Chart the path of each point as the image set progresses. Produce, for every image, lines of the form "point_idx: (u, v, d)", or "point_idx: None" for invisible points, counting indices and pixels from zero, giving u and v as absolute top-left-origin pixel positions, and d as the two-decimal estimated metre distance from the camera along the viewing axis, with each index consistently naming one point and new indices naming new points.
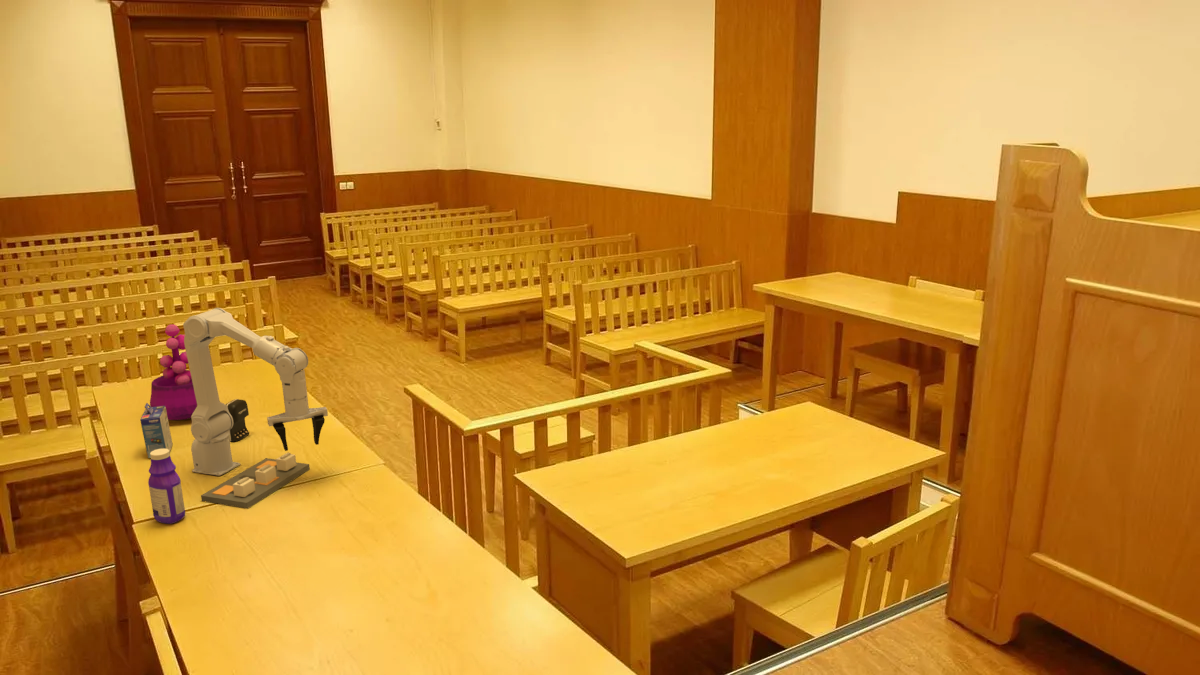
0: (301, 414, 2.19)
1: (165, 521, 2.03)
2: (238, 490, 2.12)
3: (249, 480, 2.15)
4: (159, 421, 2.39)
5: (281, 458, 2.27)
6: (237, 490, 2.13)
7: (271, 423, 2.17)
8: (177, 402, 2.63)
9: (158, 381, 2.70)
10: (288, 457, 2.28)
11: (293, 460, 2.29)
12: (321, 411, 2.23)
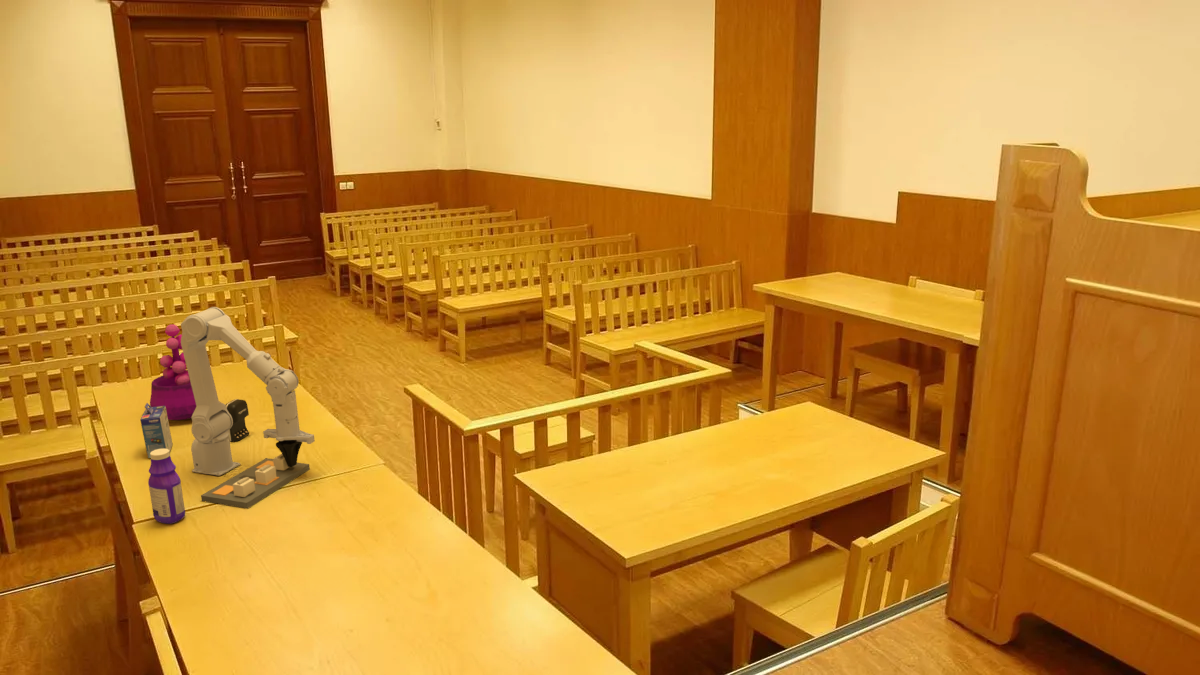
0: (283, 435, 2.23)
1: (165, 521, 2.03)
2: (238, 490, 2.12)
3: (249, 480, 2.15)
4: (159, 421, 2.39)
5: (278, 458, 2.27)
6: (237, 490, 2.13)
7: (265, 435, 2.28)
8: (177, 402, 2.63)
9: (158, 381, 2.70)
10: None
11: None
12: (304, 438, 2.23)
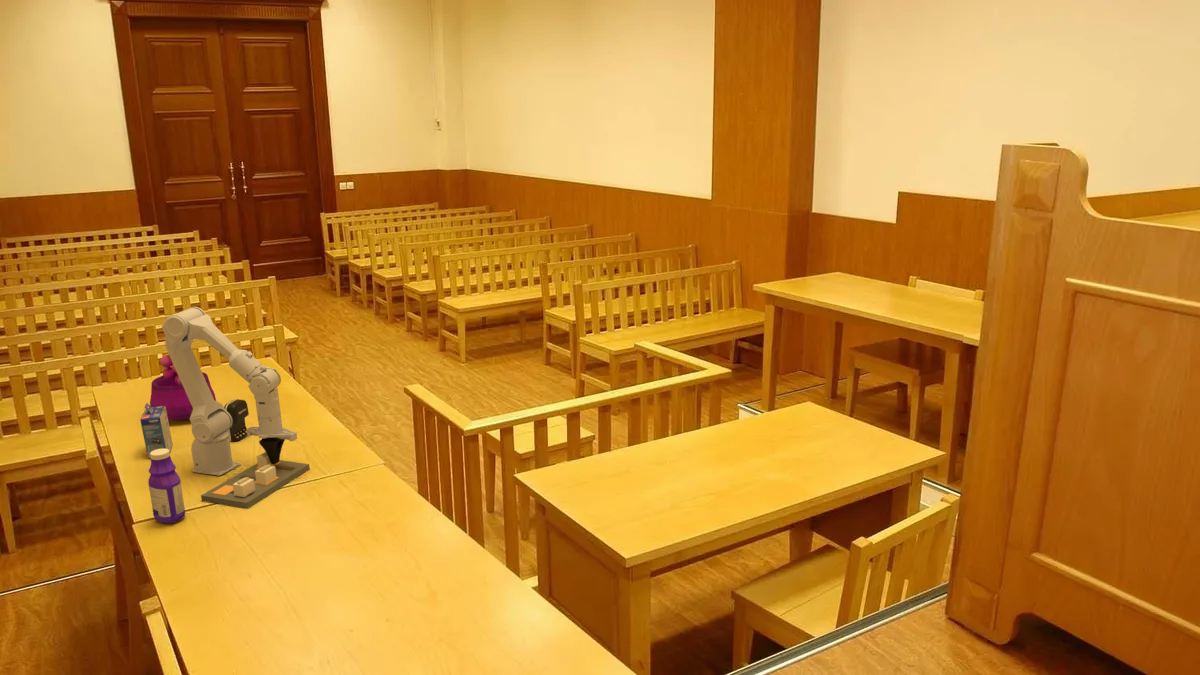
0: (265, 433, 2.25)
1: (165, 521, 2.03)
2: (238, 490, 2.12)
3: (249, 480, 2.15)
4: (159, 421, 2.39)
5: (262, 455, 2.29)
6: (237, 490, 2.13)
7: (248, 433, 2.29)
8: (177, 402, 2.63)
9: (158, 381, 2.70)
10: None
11: None
12: (286, 435, 2.25)
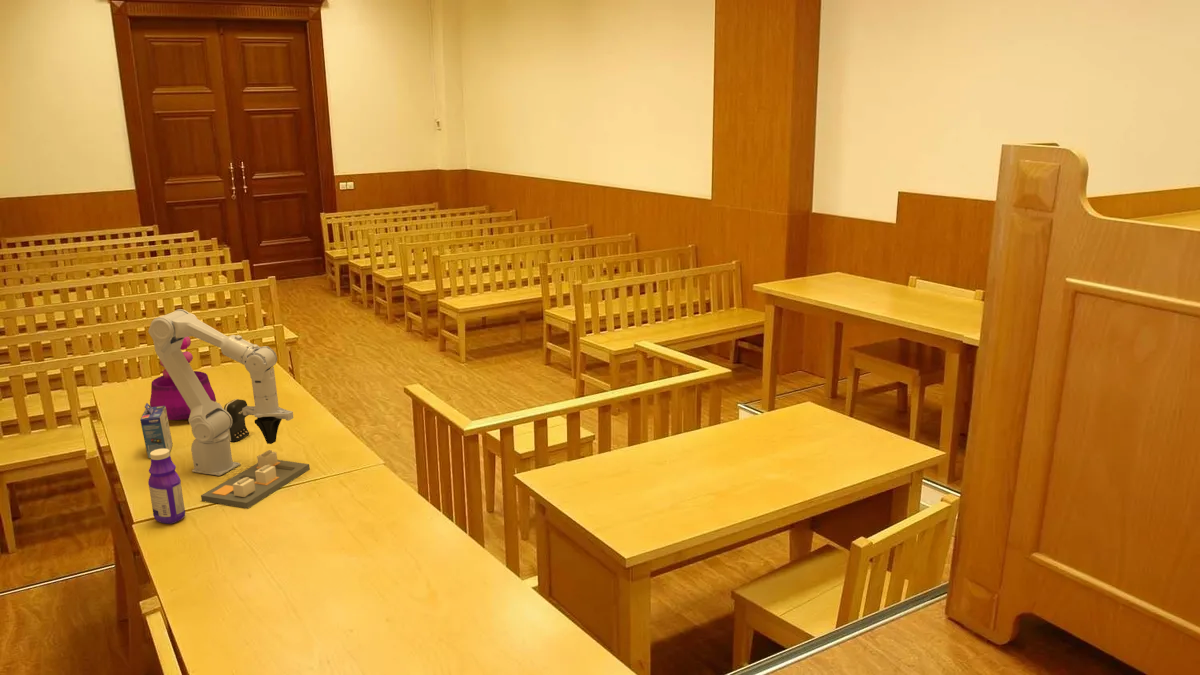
0: (261, 412, 2.23)
1: (165, 521, 2.03)
2: (238, 490, 2.12)
3: (249, 480, 2.15)
4: (159, 421, 2.39)
5: (262, 455, 2.29)
6: (237, 490, 2.13)
7: (244, 412, 2.28)
8: (177, 402, 2.63)
9: (158, 381, 2.70)
10: (269, 454, 2.30)
11: (274, 457, 2.31)
12: (282, 414, 2.23)
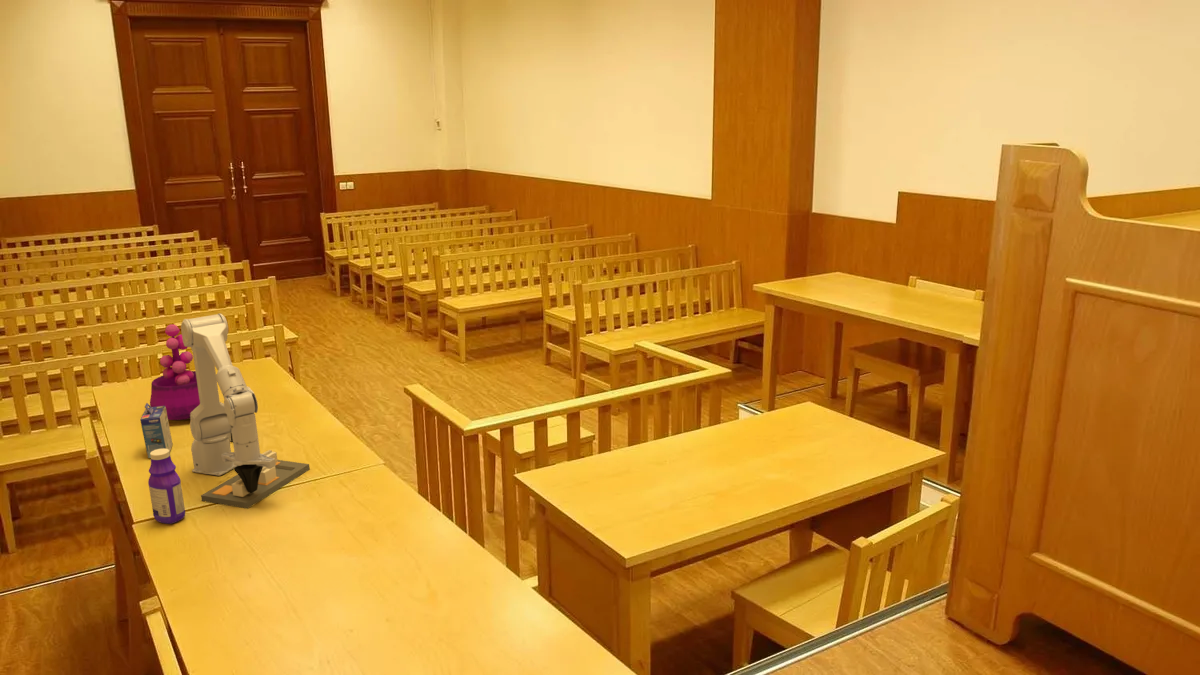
0: (241, 460, 2.09)
1: (165, 521, 2.03)
2: (237, 490, 2.13)
3: None
4: (159, 421, 2.39)
5: None
6: (236, 490, 2.13)
7: (223, 459, 2.13)
8: (177, 402, 2.63)
9: (158, 381, 2.70)
10: (269, 454, 2.30)
11: (274, 457, 2.31)
12: (264, 462, 2.09)
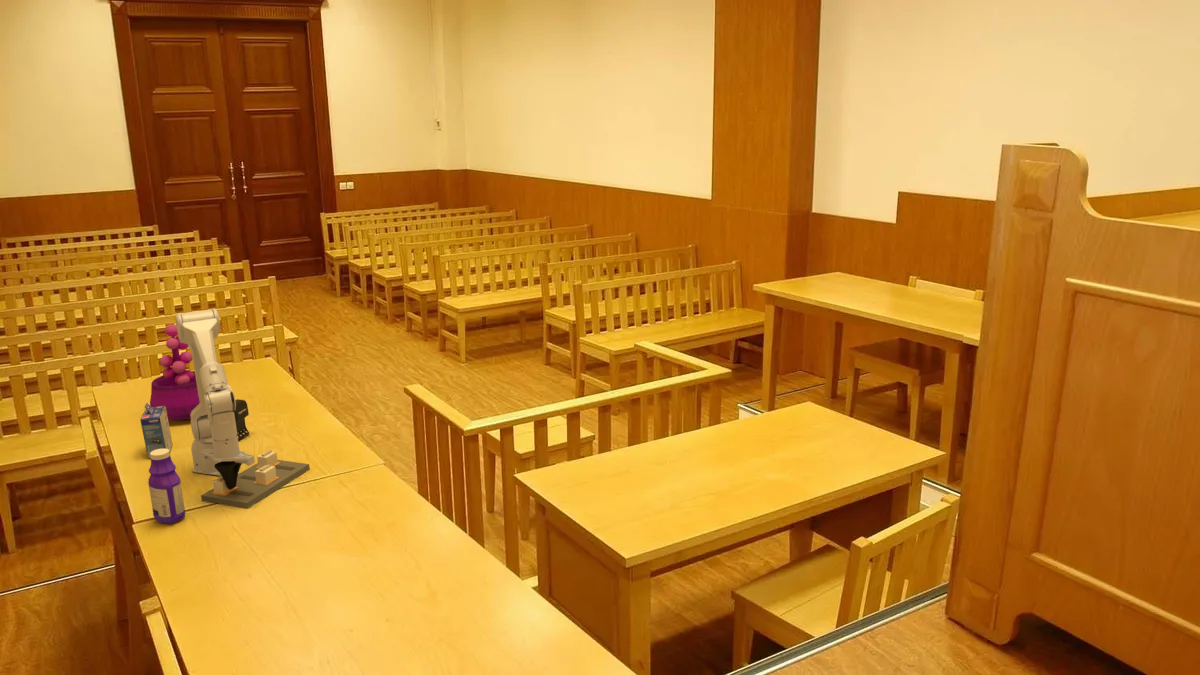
0: (220, 457, 2.10)
1: (165, 521, 2.03)
2: (218, 487, 2.14)
3: None
4: (159, 421, 2.39)
5: (262, 455, 2.29)
6: (217, 487, 2.15)
7: (203, 456, 2.15)
8: (177, 402, 2.63)
9: (158, 381, 2.70)
10: (269, 454, 2.30)
11: (274, 457, 2.31)
12: (243, 459, 2.10)
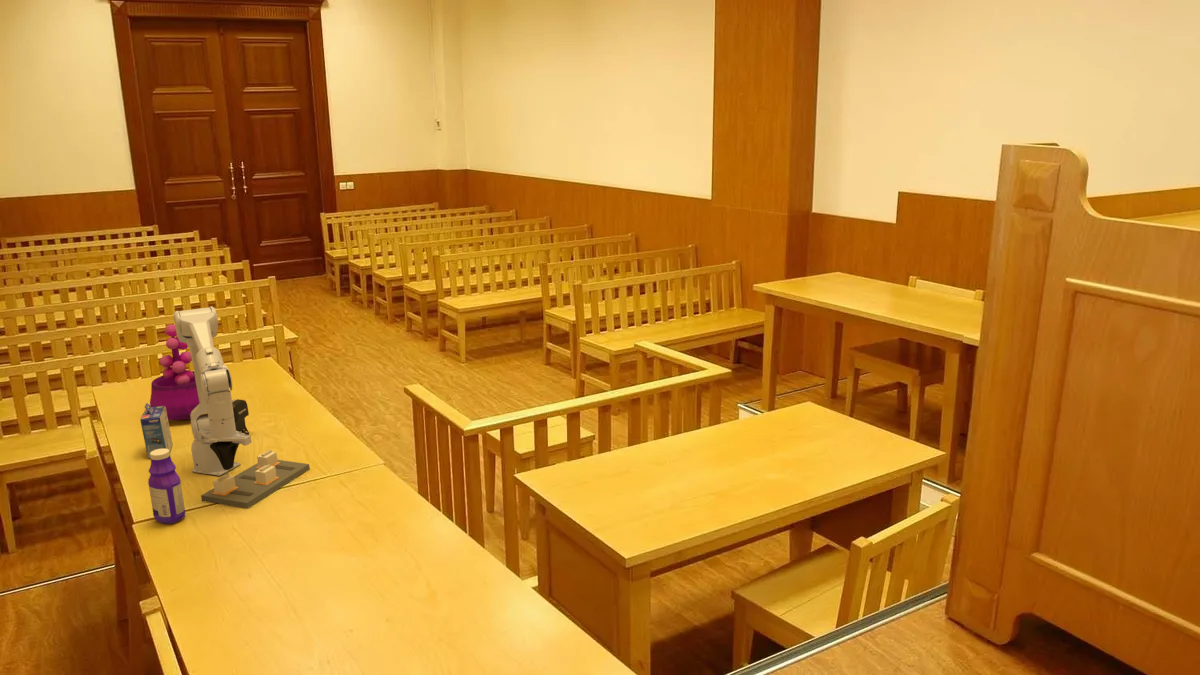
0: (217, 436, 2.09)
1: (165, 521, 2.03)
2: (218, 487, 2.14)
3: (229, 477, 2.17)
4: (159, 421, 2.39)
5: (262, 455, 2.29)
6: (217, 487, 2.15)
7: (199, 436, 2.13)
8: (177, 402, 2.63)
9: (158, 381, 2.70)
10: (269, 454, 2.30)
11: (274, 457, 2.31)
12: (239, 439, 2.09)
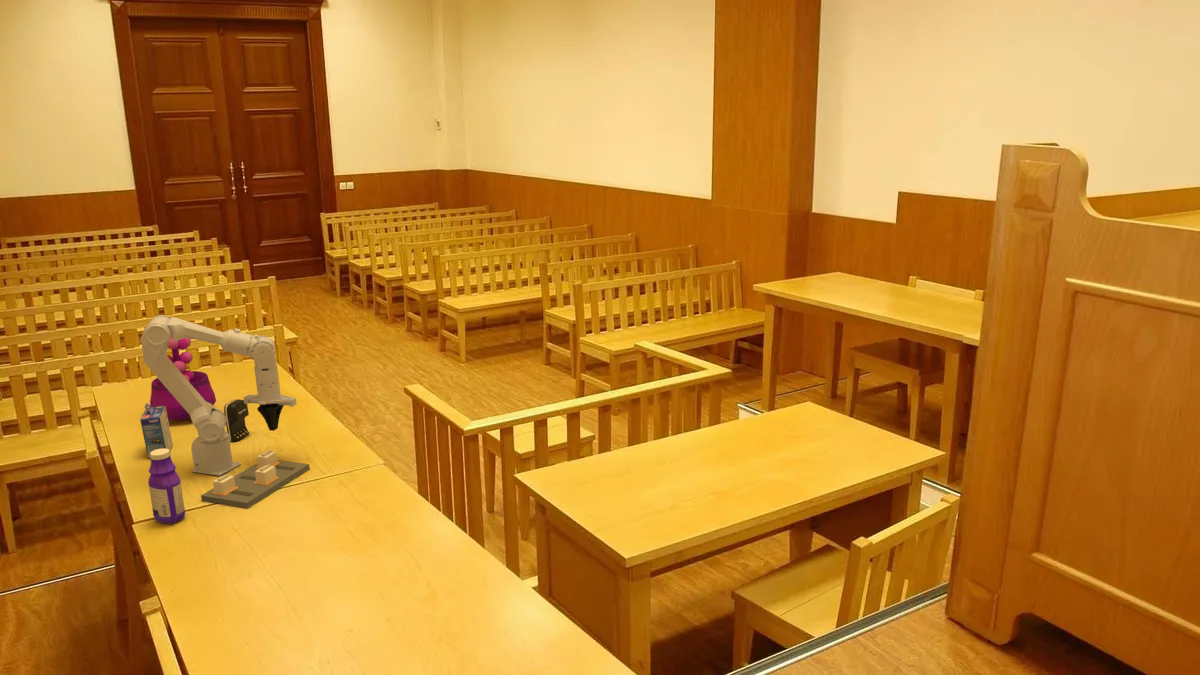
0: (265, 399, 2.30)
1: (165, 521, 2.03)
2: (218, 487, 2.14)
3: (229, 477, 2.17)
4: (159, 421, 2.39)
5: (262, 455, 2.29)
6: (217, 487, 2.15)
7: (246, 401, 2.34)
8: (177, 402, 2.63)
9: (158, 381, 2.70)
10: (269, 454, 2.30)
11: (274, 457, 2.31)
12: (286, 401, 2.31)
